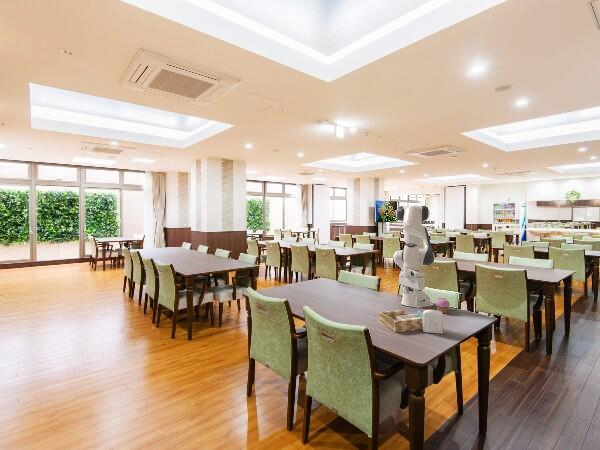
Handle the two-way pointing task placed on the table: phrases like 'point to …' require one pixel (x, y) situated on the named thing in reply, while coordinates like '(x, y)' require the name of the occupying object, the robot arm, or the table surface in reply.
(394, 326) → the woven basket
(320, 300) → the table surface
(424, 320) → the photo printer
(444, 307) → the cupcake
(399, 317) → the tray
